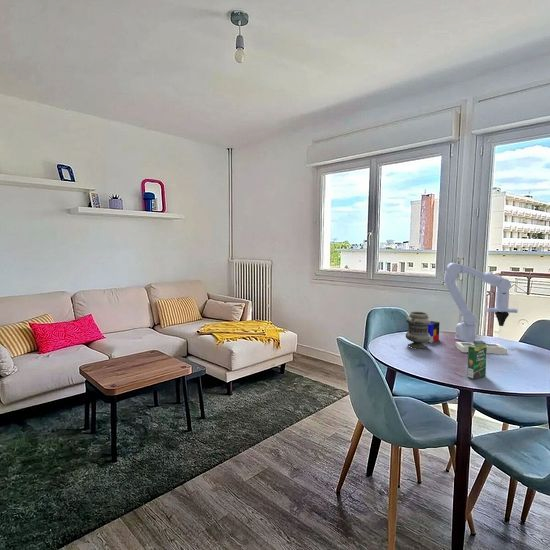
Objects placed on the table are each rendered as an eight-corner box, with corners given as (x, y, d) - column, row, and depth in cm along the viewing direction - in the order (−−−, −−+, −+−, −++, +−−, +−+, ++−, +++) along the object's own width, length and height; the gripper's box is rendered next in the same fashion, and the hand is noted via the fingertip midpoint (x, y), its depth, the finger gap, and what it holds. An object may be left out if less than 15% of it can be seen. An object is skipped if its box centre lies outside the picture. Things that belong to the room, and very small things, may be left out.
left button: (463, 349, 178) (464, 345, 178) (460, 347, 182) (461, 342, 182) (472, 350, 178) (472, 345, 177) (469, 348, 181) (469, 343, 181)
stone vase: (410, 350, 178) (411, 315, 176) (401, 343, 190) (402, 310, 188) (434, 350, 178) (435, 314, 176) (423, 343, 190) (425, 310, 188)
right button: (489, 350, 176) (489, 346, 176) (486, 348, 180) (486, 343, 180) (498, 351, 176) (498, 346, 175) (494, 349, 180) (495, 344, 179)
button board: (462, 352, 174) (462, 346, 174) (455, 346, 184) (455, 341, 184) (506, 354, 171) (507, 348, 171) (497, 348, 181) (497, 342, 181)
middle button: (476, 347, 177) (477, 342, 177) (473, 345, 181) (473, 340, 181) (485, 347, 176) (485, 343, 176) (482, 345, 180) (482, 340, 180)
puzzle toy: (430, 343, 191) (430, 324, 191) (412, 339, 199) (413, 321, 198) (438, 339, 198) (439, 322, 197) (421, 336, 205) (422, 319, 205)
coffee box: (473, 380, 138) (474, 347, 137) (466, 377, 141) (467, 345, 140) (486, 376, 142) (487, 344, 141) (479, 374, 144) (480, 342, 143)
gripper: (490, 301, 186) (489, 326, 187) (521, 302, 184) (519, 327, 185) (485, 299, 193) (484, 324, 194) (514, 300, 191) (512, 324, 192)
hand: (501, 325), depth 190 cm, fingers closed
